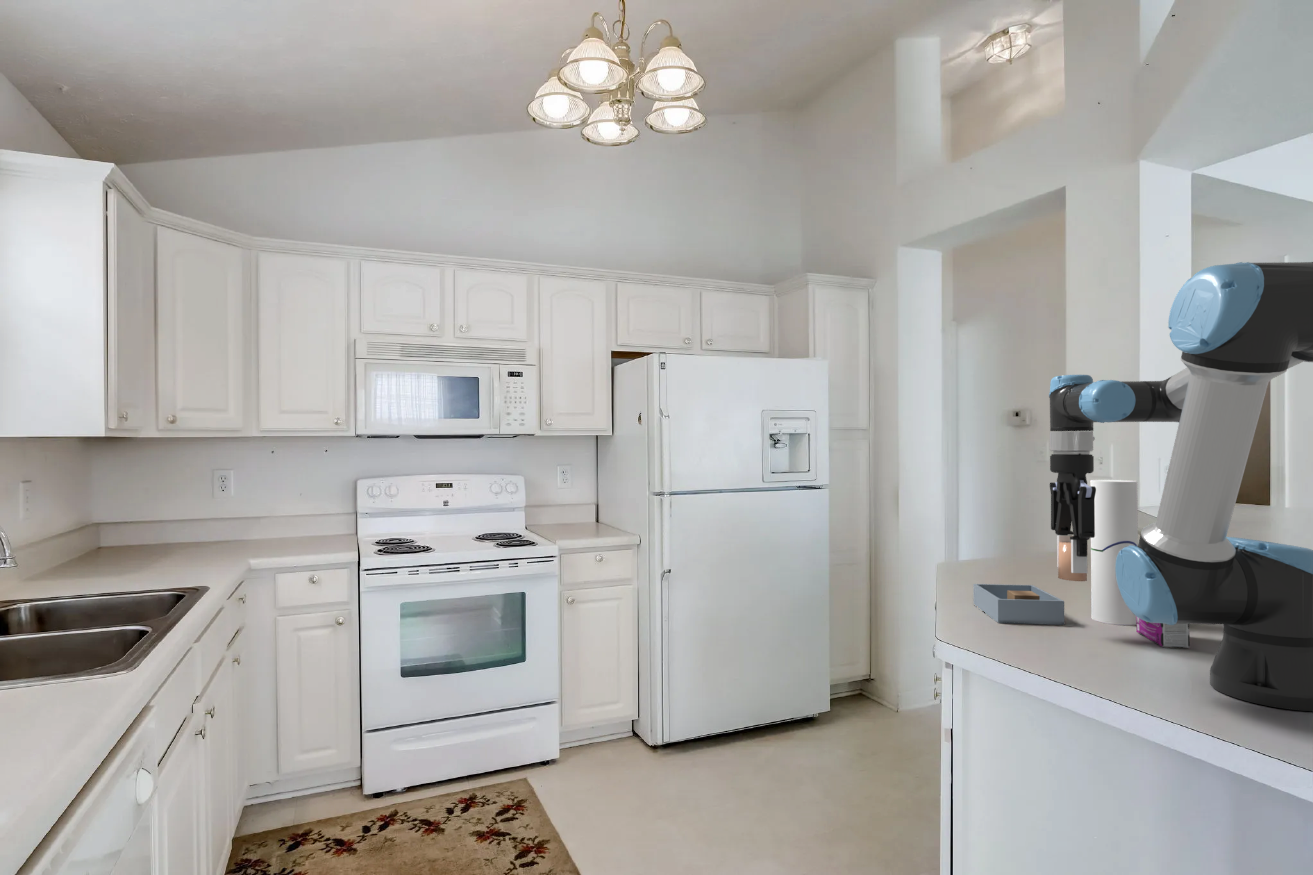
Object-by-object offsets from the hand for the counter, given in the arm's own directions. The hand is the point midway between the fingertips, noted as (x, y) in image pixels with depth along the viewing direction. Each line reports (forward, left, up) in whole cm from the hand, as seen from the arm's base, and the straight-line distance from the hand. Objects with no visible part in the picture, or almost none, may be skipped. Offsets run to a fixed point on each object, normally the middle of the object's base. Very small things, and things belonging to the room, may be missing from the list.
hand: (1072, 569), depth 143 cm
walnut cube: (+13, +5, -12) cm, 18 cm away
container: (+14, -14, -13) cm, 24 cm away
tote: (+17, +5, -13) cm, 22 cm away
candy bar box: (-2, -15, -13) cm, 20 cm away
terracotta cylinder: (0, 0, -2) cm, 2 cm away
